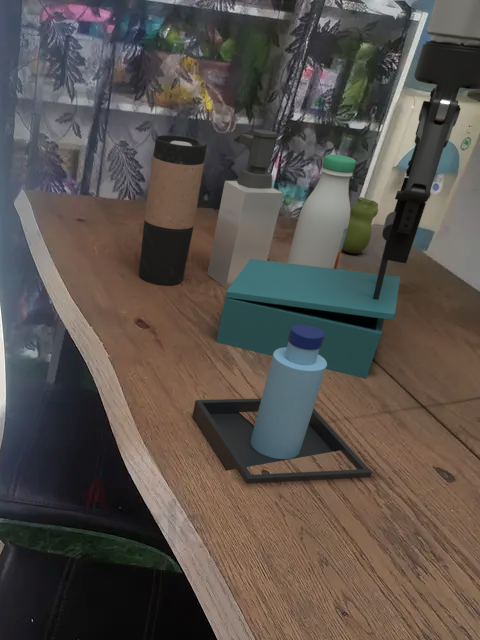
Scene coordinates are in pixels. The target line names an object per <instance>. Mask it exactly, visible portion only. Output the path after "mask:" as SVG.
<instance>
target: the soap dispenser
mask: <svg viewBox="0 0 480 640" xmlns="http://www.w3.org/2000/svg"><path fill="white" fill-rule="evenodd" d="M252 134H253V135H251V134H247V133H240V135H239V138H238V143H239V144H241V145H243V146H247V147H248V148H250V150H249V155H248V160H247V164H248V165H249V168H244V169H243V168H242V169H240V172H239V174H238V177H237V180H224V184H223V189H222V194H221V200H220V205H219V209H218V214H217V215H218V216H217V221H216V226H215V230H214V236H213V241H212V247H211V252H210V257H209V261H208V267H207V273H206V275H207V276H208V277H210V278H211V279H212V280H214V281H215V282H216V283H218V284H219V285H220V286H222V287H230V286H231V285H232V283H233V282H234V280H235V279H236V278H237V276H238V275H239V274H240V272H241V271H242V270H243V268H244V267H245V266H246V264H247V263H248V261H249V260H250V259H256V260H264V261H268V258H269V255H270V251H271V246H272V241H273V239H274V238H273V237H274V233H275V229H276V224H277V220H278V216H279V212H280V208H281V203H282V199H283V195H284V192H282V191H280V190H279V189H277V188H274V187H273V174H272V173H271V172H269V171H266V170H267V168H270V165H271V161H272V156H273V151H274V147H275V146H274V145H275V142H276V139H277V138H278V136H279V134H278V133H277V132H276V131H273V130H267V129H252Z"/></svg>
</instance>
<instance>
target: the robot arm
mask: <svg viewBox="0 0 480 640" xmlns="http://www.w3.org/2000/svg"><path fill="white" fill-rule="evenodd" d="M426 33H427V34H428V35H431V36H430V38H429V40H426V41H425V43H423V44H422V48H421V50H420V54H419V56H418V57H419V58H418V60H417V64H416V67H415V71H414V73H413V74H414V79H415V80H416V81H417V82H419V83H424V84H428V85H429V84H430V85H435V87H433V89H432V90H431V91H430V94H429V96H430V98H429V101H428V100H423V102H422V104H421V108H420V111H419V115H418V125H417V128H416V131H415V138H414V144H415V145H414V148H413V151H412V154H411V157H410V160H408V163H407V166H408V167H407V168H406V171H405V177H404V178H403V182H402V185H401V188H400V190H397V192H396V194H395V198H394V200H396V204H395V207H394V210H393V212H396V215H395V218H394V221H393V225H392V228H391V231H390V234H389V237H388V241H387V244H386V243H385V244H386V247H385V246H384V248H385V250H384V249H383V252H384V253H383V252H382V256H383V257H381V260H382V259H385V260H388V261H390V262H395V263H401V264H407V262H408V259H409V256H410V253H411V251H412V250H411V249H412V247H413V243H414V241H415V238H416V235H417V232H418V228H419V226H420V223H421V220H422V216H423V214H424V211H425V207H426V204H427V202H428V200H429V199H430V198H431V196H432V195H431V194H432V192H431V190H432V188H433V183H434V181H435V177H436V174H437V171H438V167H439V164H440V161H441V157H442V154H443V151H444V149H445V148H446V147H447V146H448V143H449V142H450V141H449V140H450V139H451V135H452V131H453V128H454V127H455V126H456V125H457V121H458V119H459V116H460V112H461V105H459V100H458V99H457V97H458V93H459V91H460V89H461V88H462V89H468V90H480V0H434V5H433V8H432V11H431V14H430V17H429V22H428V25H427V29H426Z"/></svg>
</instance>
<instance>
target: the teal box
mask: <svg viewBox="0 0 480 640" xmlns="http://www.w3.org/2000/svg"><path fill="white" fill-rule="evenodd" d="M384 322H385V319H381V318H374V317H366V316H359V315H352V314H344V313H337V312H330V311H322V310H315V309H307V308H300V307H293V306H285V305H278V304H271V303H263V302H256V301H249V300H241V299H234V298H226V297H224V303H223V306H222V311H221V316H220V319H219V326H218V329H217V334H216V340H215V343H216V344H217V343H218V344H222V345H226V346H229V347H234V348H237V349H242V350H246V351H250V352H254V353H258V354H262V355H267V356H270V357H273V353H274V351H275V350H277V349H279V348H284V347H287V345H288V337H289V334H290V330H291V327H292V326H294V325H309V326H313V327H316V328H318V329H320V330H322V331H323V332H324V334H325V336H324V340H323V343H322V346H321V348H320V349H319V353H318V355H320V356H322V357H323V358H324V359H325V360H326V362H327V367H326V370H329V371H332V372H336V373H341V374H344V375H349V376H353V377H357V378H361V379H367V377H368V375H369V373H370V369H371V366H372V364H373V360H374V358H375V354H376V351H377V349H378V345H379V343H380V340H381V338H382V335H383V330H384V329H383V328H384Z"/></svg>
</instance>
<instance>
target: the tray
mask: <svg viewBox="0 0 480 640" xmlns="http://www.w3.org/2000/svg"><path fill="white" fill-rule="evenodd" d="M261 399H262V398H230V399H229V398H228V399H227V398H225V399H223V398H222V399H196V400H195V401H194V406H193V411H192V419H193V420H194V422H195V423H196V425H197V426H198V428H199V429H200V432H201V433H202V434H203V436H204V437H205V439H206V440H207V442H208V444H209V445H210V446H211V448H212V450H213V451H214V453H215V455H216V456H217V457H218V459H219V461H220V462H221V464H222V465H223V467H224V469H225V470H226V471H232V470H237V472H238V473H239V475H240V476H241V477H242V479H243V480H244V482H245V483H246V484H247V485H250V484H253V485H254V484H271V483H289V482H291V483H292V482H306V481H328V480H345V479H346V480H347V479H349V480H350V479H365V478H366V479H367V478H371V476H372V473H373V472H372V470H371V469H370V468H369V467H368V466H367V465H366V464H365V463H364V462H363V460H362V459H361V458H360V457H359V456H358V455H357V454H356V453H355V451H353V449H352V448H351V447H350V446H349V445H348V443H346V442H345V441H344V440H343V438H341V437H340V436H339V434H338V433H337V432H336V431H335V430H334V429H333V427H331V425H329V423H328V422H327V421H326V420H325V419H324V418H323V417H322V416H321V415H320V414H319V412H317V410H316V409H315V407H314V408H313V412H312V415H311V418H310V421H309V424H308V428H307V431H306V434H305V437H304V440H303V444H302V447H301V450H300V453H299V454H298V456H296V457H294V458H291V459H275V458H271V457H267V456H265V455H263V454H261V453H259V452H257V451H256V450H255V449H254V448H253V447H252V445H251V437H252V433H253V429H254V425H255V424H253V423H252V422H250V421H249V420H248V419H247V418H246V417H245V416H244V415H243V414H242V413H258V410H259V406H260V402H261ZM334 452H342V454H343V455H344V456H345V457H346V459H348V461H349V462H350V463H351V464H352V465H353V466H354V467H355V468H356V469H344V470H343V469H338V470H322V471H321V470H319V471H303V472H302V471H301V472H280V473H260V474H252V473H251V472H250V470H249V468H250V467H254V466H261V465H266V464H272V463H277V462H282V461H289V460H294V459H300V458H306V457H310V456H311V457H312V456H317V455H322V454H328V453H334Z"/></svg>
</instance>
